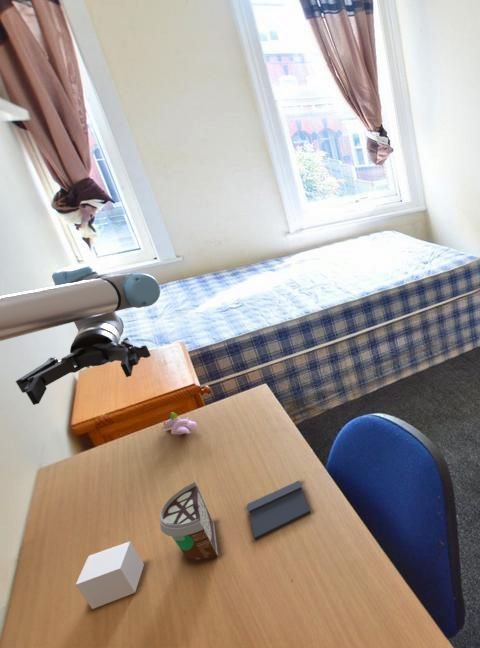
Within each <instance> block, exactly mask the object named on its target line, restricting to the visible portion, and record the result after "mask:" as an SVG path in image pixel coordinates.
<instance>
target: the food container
mask: <svg viewBox="0 0 480 648" xmlns="http://www.w3.org/2000/svg"><path fill="white" fill-rule="evenodd" d="M199 489H200V488H199V486H198V484H197V482H195V481H194V482H192V483H190V484H188V485H186V486H184V487H182V488H181V489H180V490H178V491H176V492H175V493H174V494H173V495H171V496H170V498H169V499H167V500H166V502H165V503H164V505H163V506H162V508H161V510H160V512H159V513H160V514H159V525H160V530H161V531H162V533H163V534H164V535H166V536H169V537H171V538H172V539H173V541H174V542H175V543H176V545H177V547H178V548H179V549H180V551H181V552H182V553H183V555H184V556H185V558H186V559H187V560H188V561H190V562H192V563H202V562H207V561H210V560H213V559H215V558H217V557H219V553H218V545H217V537H216V530H215V523H214V520H213V519H212V517H211V514H210V512H209V510H208V508H207V504H206V502H205V500H204V499H203V496H202V494H201V492H200V490H199Z"/></svg>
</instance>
